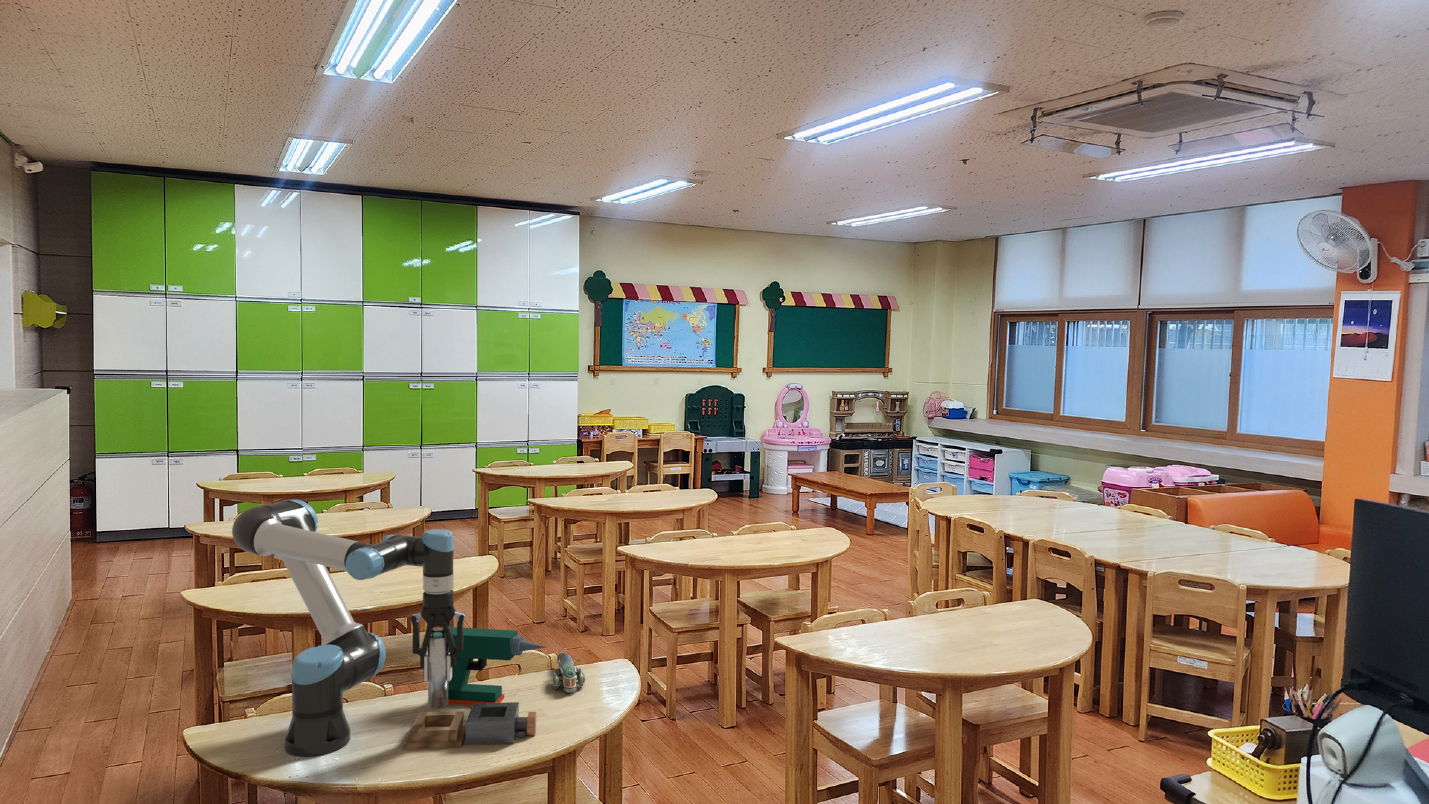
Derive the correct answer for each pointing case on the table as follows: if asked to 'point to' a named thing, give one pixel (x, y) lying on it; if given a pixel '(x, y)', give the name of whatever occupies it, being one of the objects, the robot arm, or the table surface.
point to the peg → (437, 670)
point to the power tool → (482, 662)
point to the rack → (437, 730)
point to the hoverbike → (567, 673)
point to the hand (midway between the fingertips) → (438, 679)
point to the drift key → (527, 724)
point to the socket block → (492, 724)
